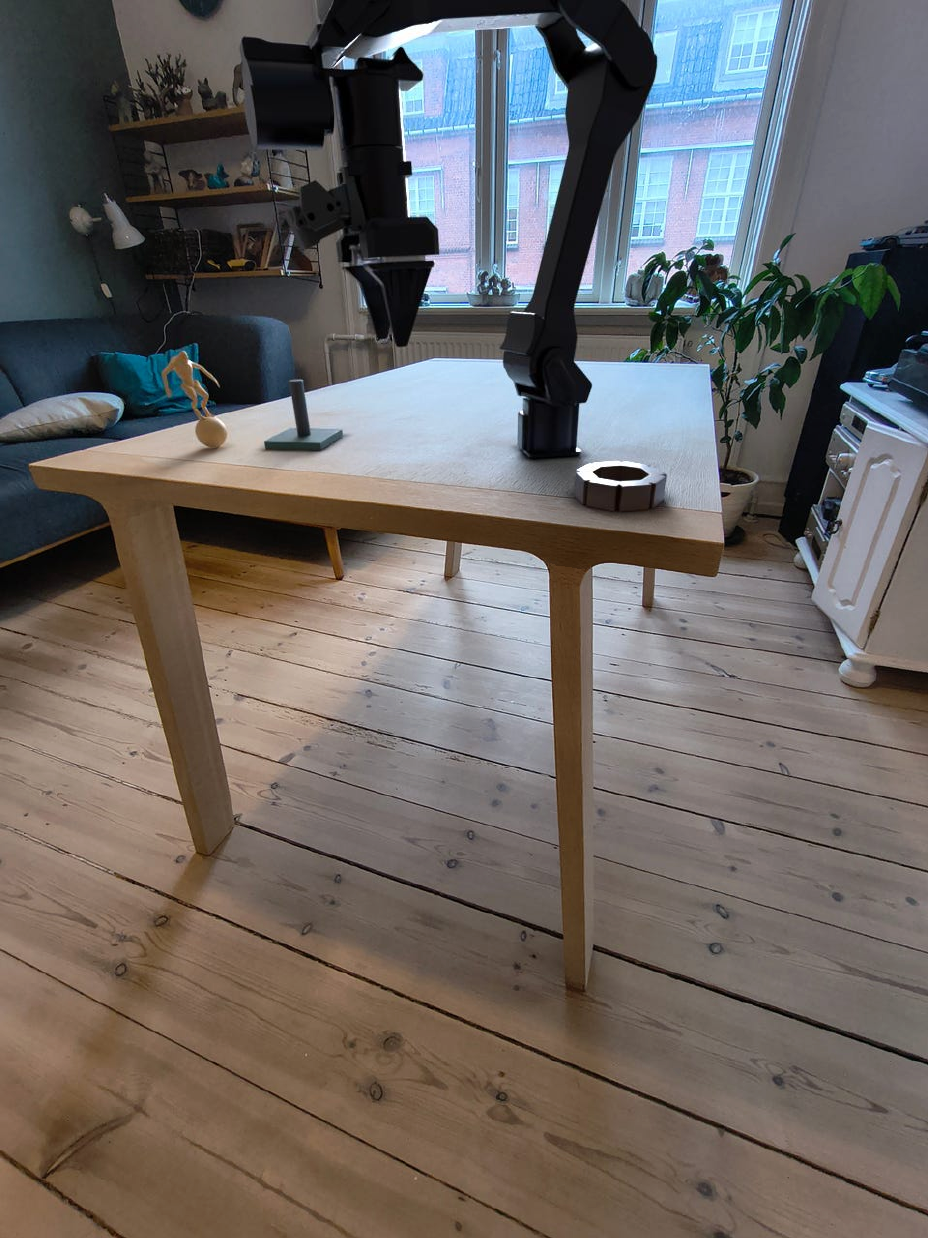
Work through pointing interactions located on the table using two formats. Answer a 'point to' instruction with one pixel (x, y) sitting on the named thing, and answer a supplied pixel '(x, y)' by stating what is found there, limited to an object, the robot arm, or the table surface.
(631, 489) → the ring
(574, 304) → the robot arm
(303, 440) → the peg stand
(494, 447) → the table surface
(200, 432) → the figurine
